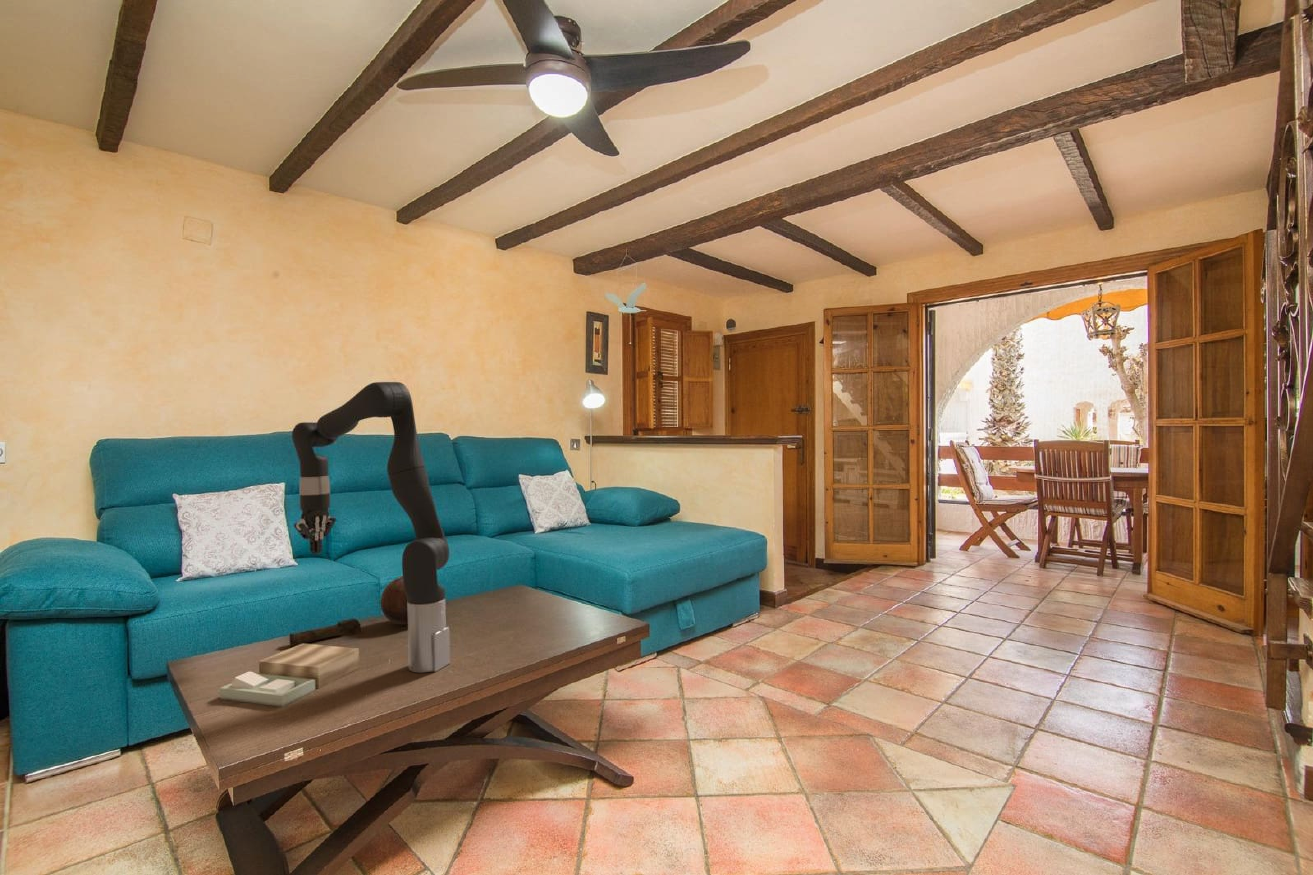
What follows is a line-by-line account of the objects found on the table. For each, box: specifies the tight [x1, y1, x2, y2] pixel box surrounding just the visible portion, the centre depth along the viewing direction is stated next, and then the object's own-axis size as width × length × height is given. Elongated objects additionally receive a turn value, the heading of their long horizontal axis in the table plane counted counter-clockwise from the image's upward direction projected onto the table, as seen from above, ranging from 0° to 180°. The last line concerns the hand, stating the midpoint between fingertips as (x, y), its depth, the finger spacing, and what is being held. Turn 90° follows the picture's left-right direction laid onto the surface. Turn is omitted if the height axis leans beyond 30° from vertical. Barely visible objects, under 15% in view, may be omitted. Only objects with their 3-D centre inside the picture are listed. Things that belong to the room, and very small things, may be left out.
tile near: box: [259, 679, 295, 693], centre depth 141 cm, size 5×5×2 cm
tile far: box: [231, 671, 268, 690], centre depth 142 cm, size 5×5×2 cm
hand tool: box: [289, 618, 362, 648], centre depth 180 cm, size 19×4×5 cm, turn 130°
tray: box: [219, 672, 316, 708], centre depth 141 cm, size 18×9×2 cm, turn 74°
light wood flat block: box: [258, 643, 360, 689], centre depth 153 cm, size 18×13×5 cm
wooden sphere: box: [380, 576, 408, 625], centre depth 194 cm, size 15×15×15 cm
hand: (316, 553), depth 172 cm, fingers closed
